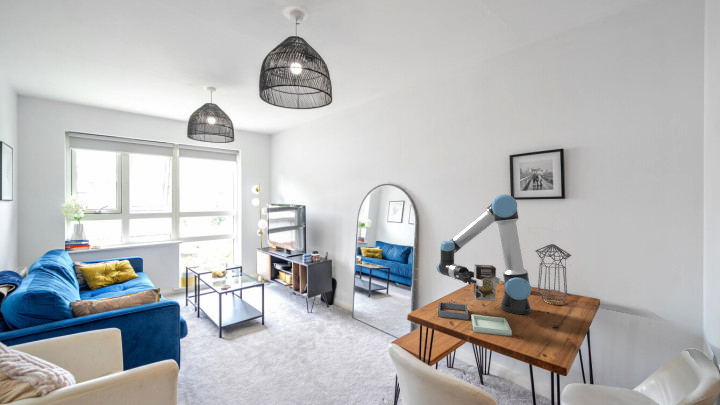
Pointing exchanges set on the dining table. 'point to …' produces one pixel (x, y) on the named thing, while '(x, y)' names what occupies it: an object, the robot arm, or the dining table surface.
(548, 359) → the dining table surface
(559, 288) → the geometric lantern
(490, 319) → the tray
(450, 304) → the frame
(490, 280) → the coffee box
